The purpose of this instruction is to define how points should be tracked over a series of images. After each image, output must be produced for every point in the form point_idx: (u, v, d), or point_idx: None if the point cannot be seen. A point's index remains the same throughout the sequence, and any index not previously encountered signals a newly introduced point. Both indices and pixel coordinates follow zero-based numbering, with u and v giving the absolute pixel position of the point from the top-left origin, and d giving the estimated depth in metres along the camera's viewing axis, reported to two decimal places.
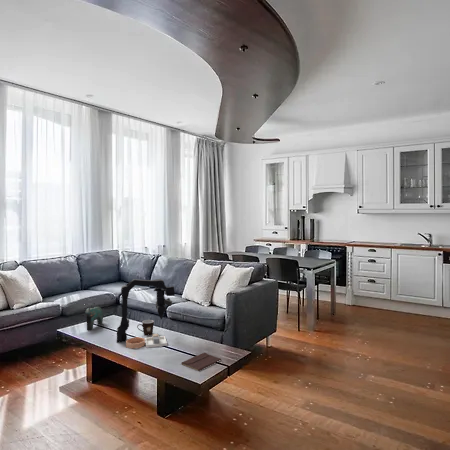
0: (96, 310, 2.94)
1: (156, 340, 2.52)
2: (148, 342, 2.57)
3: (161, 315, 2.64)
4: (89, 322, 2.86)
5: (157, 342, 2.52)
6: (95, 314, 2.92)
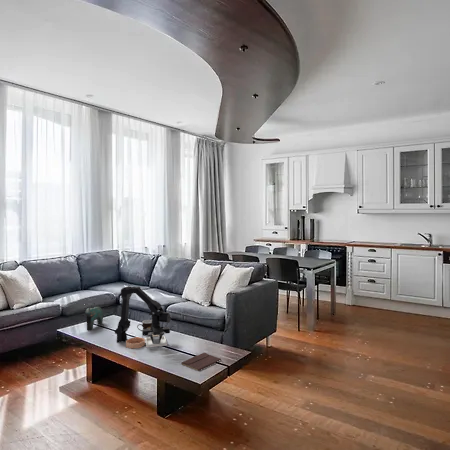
0: (96, 310, 2.94)
1: (156, 340, 2.52)
2: (148, 342, 2.57)
3: (151, 339, 2.53)
4: (89, 322, 2.86)
5: (157, 342, 2.52)
6: (95, 314, 2.92)
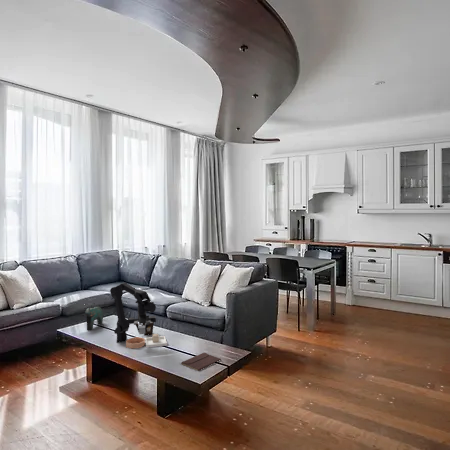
0: (96, 310, 2.94)
1: (142, 329, 2.49)
2: (148, 342, 2.57)
3: (137, 328, 2.51)
4: (89, 322, 2.86)
5: (143, 331, 2.50)
6: (95, 314, 2.92)
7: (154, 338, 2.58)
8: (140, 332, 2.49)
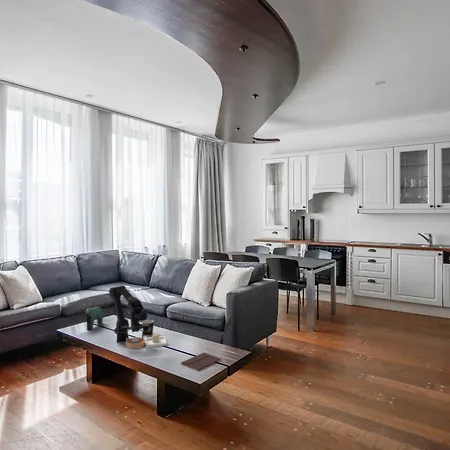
0: (96, 310, 2.94)
1: (135, 342, 2.49)
2: (148, 342, 2.57)
3: (126, 336, 2.49)
4: (89, 322, 2.86)
5: None
6: (95, 314, 2.92)
7: (154, 338, 2.58)
8: None
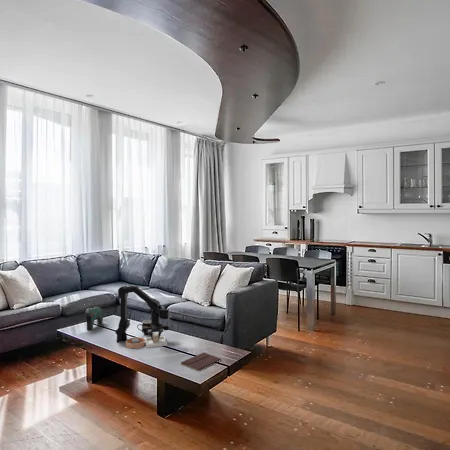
0: (96, 310, 2.94)
1: (135, 342, 2.49)
2: (148, 342, 2.57)
3: None
4: (89, 322, 2.86)
5: None
6: (95, 314, 2.92)
7: (154, 338, 2.58)
8: None
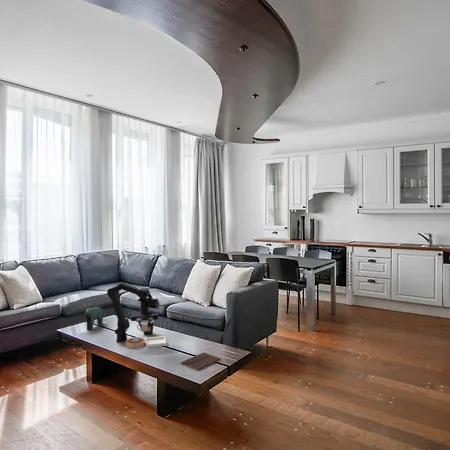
0: (96, 310, 2.94)
1: (135, 342, 2.49)
2: (148, 342, 2.57)
3: None
4: (89, 322, 2.86)
5: None
6: (95, 314, 2.92)
7: (143, 327, 2.55)
8: None
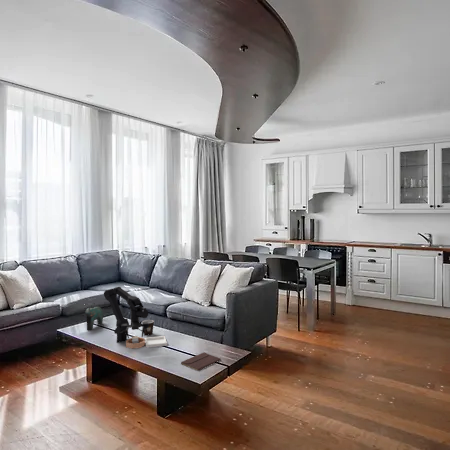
0: (96, 310, 2.94)
1: (135, 342, 2.49)
2: (148, 342, 2.57)
3: (126, 334, 2.54)
4: (89, 322, 2.86)
5: None
6: (95, 314, 2.92)
7: None
8: None
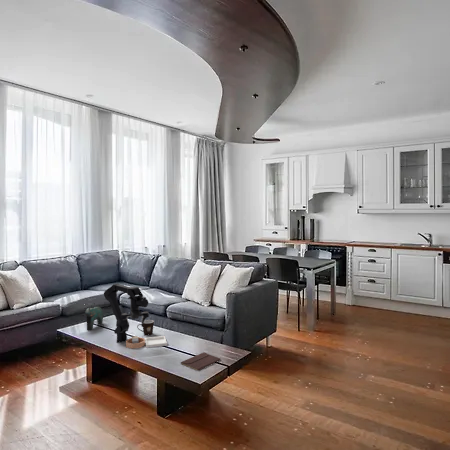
0: (96, 310, 2.94)
1: (135, 342, 2.49)
2: (148, 342, 2.57)
3: (126, 324, 2.54)
4: (89, 322, 2.86)
5: None
6: (95, 314, 2.92)
7: None
8: None
